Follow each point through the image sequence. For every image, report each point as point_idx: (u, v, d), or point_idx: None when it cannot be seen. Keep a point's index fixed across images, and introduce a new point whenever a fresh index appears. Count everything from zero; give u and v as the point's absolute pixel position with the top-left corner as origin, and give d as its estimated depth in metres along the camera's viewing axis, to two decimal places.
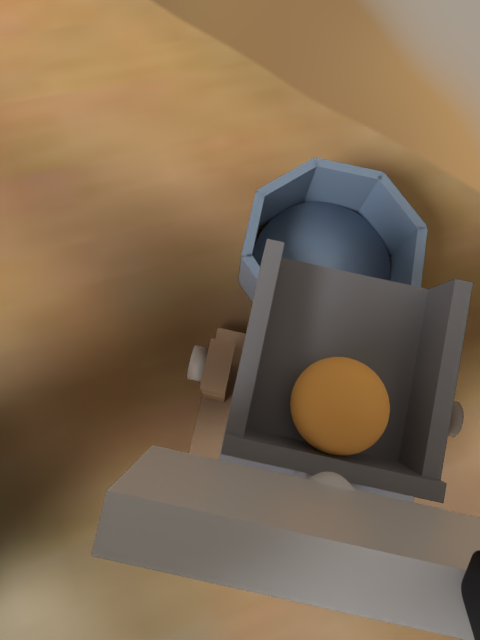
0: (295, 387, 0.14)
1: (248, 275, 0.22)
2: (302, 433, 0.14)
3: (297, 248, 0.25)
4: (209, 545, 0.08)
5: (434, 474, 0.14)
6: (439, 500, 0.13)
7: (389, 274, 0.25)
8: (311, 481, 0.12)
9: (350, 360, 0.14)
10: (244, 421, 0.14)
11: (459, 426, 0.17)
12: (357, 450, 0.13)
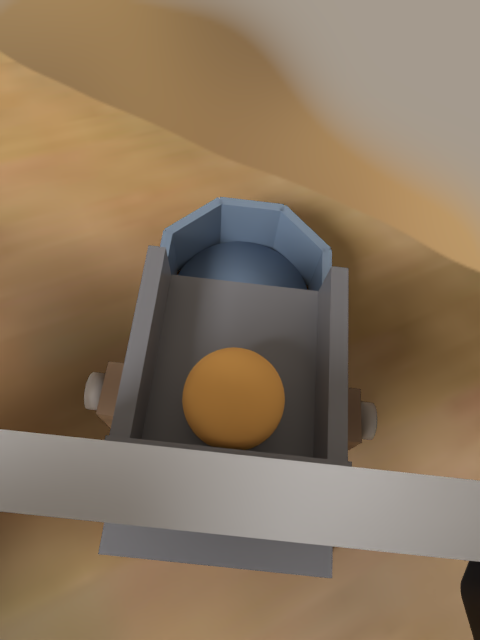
0: (185, 383, 0.13)
1: None
2: (194, 428, 0.13)
3: None
4: (18, 468, 0.07)
5: (340, 456, 0.13)
6: None
7: None
8: None
9: (238, 348, 0.14)
10: (130, 422, 0.13)
11: (374, 425, 0.16)
12: (251, 436, 0.12)
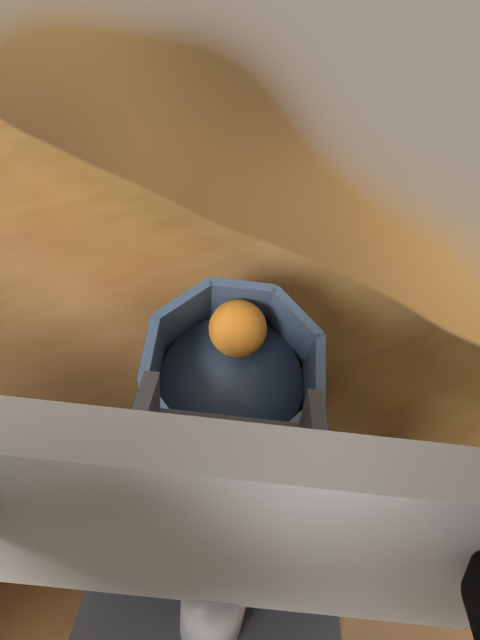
0: (210, 319, 0.24)
1: None
2: (217, 329, 0.23)
3: (205, 365, 0.24)
4: (34, 424, 0.07)
5: None
6: None
7: (302, 382, 0.24)
8: None
9: None
10: None
11: None
12: (250, 327, 0.22)
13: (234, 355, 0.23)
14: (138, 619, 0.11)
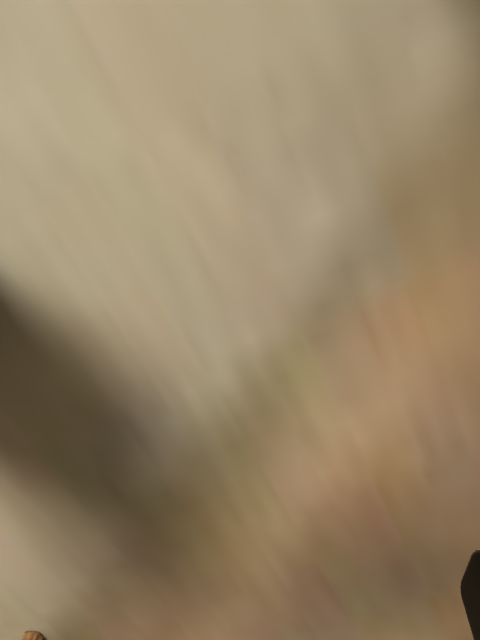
0: None
1: None
2: None
3: None
4: None
5: None
6: None
7: None
8: None
9: None
10: None
11: None
12: None
13: None
14: None
